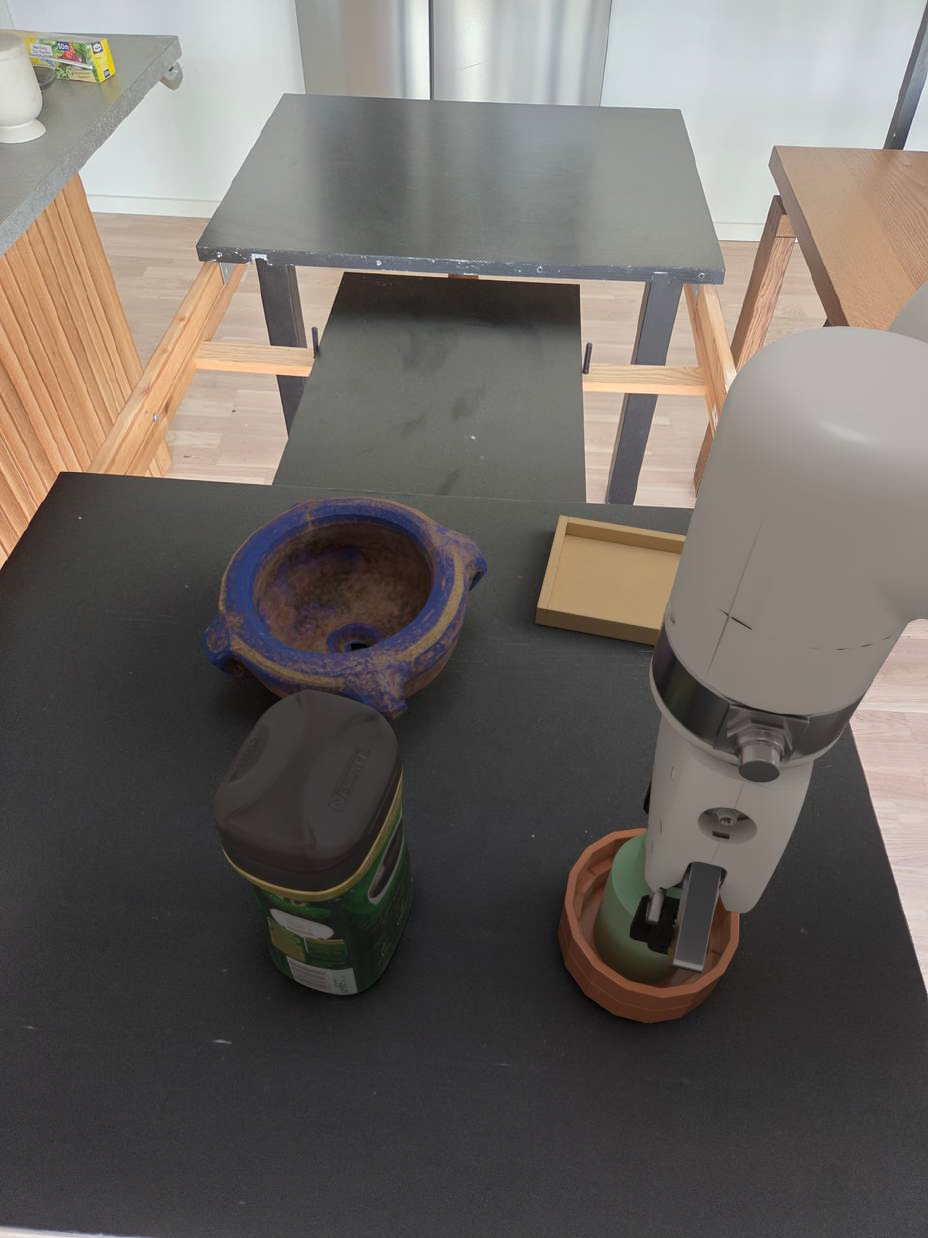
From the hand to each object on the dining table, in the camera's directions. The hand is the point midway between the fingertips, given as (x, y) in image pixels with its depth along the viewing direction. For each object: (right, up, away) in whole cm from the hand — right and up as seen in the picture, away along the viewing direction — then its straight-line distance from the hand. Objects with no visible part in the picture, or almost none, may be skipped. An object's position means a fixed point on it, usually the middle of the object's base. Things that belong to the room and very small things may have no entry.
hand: (666, 872), depth 45 cm
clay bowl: (0, -6, +7) cm, 9 cm away
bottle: (0, -6, +7) cm, 9 cm away
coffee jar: (-18, -5, +8) cm, 21 cm away
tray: (+4, +16, +27) cm, 32 cm away
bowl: (-19, +10, +22) cm, 31 cm away
